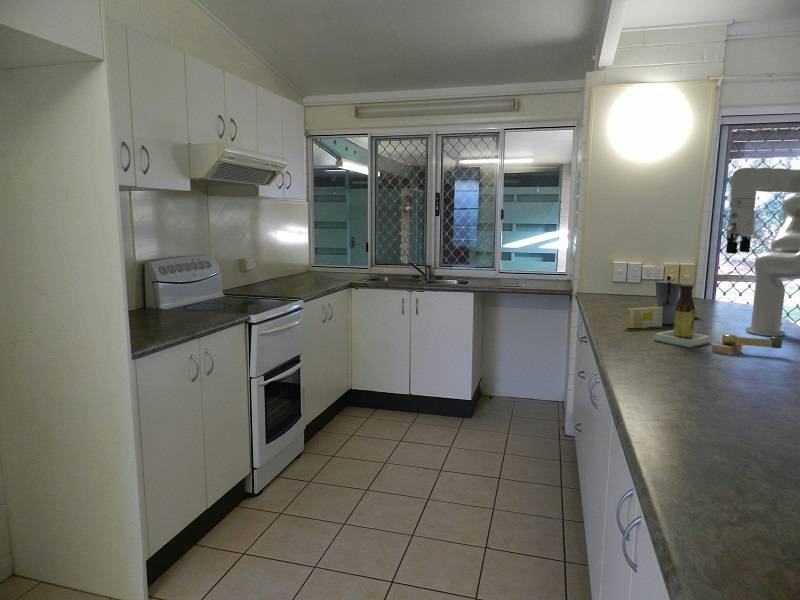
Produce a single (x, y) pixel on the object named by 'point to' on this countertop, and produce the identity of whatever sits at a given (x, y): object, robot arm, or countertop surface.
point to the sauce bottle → (684, 313)
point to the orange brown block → (726, 348)
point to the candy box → (644, 317)
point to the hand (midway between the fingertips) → (737, 252)
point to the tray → (682, 339)
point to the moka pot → (667, 298)
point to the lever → (752, 341)
